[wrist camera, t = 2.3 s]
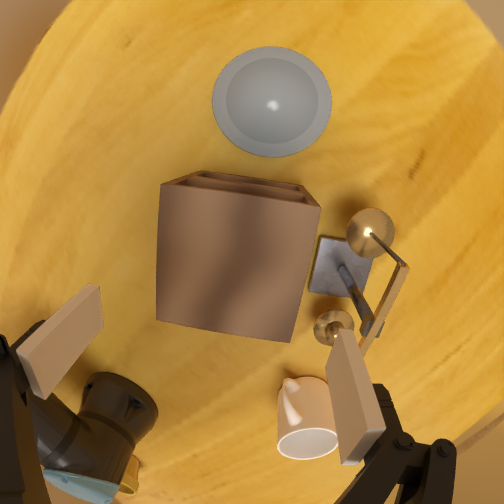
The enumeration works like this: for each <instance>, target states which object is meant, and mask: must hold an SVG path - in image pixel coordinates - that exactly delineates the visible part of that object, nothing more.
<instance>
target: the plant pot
mask: <svg viewBox="0 0 504 504" xmlns="http://www.w3.org/2000/svg"><path fill="white" fill-rule="evenodd" d="M139 464H140V462H139V460H138V459H137V458H136V457H134V456H133V455H132V456H131V458H130V461H129V464H128V466H127V469H126V471H125V474H124V476H123V479H122V482H121V484H120V486H121V487H120V489H119V490H118V492H120V493H123V494H126V495H135V494H136V492H137V490H138V487H139V482H138V472H139Z"/></svg>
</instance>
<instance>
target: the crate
mask: <svg viewBox="0 0 504 504" xmlns="http://www.w3.org/2000/svg"><path fill="white" fill-rule="evenodd" d="M193 186H194V187H193ZM208 188H210V189H208ZM216 189H217V190H216ZM223 190H225V191H223ZM230 191H232V192H230ZM237 192H239V193H237ZM244 193H246V194H244ZM251 194H252V195H251ZM257 195H259V196H257ZM264 196H265V197H264ZM270 197H271V198H270ZM276 198H278V199H276ZM282 199H284V200H282ZM288 200H289V201H288ZM294 201H295V202H294ZM320 212H321V207H320V205H319V204H318V203H317V202H316V201H315V199H314V198H313V197H312V196H311V195H310V193H309V192H308V191H307V190H306V189H305V188H304V186H301V185H296V184H290V183H284V182H278V181H272V180H266V179H259V178H253V177H246V176H239V175H231V174H224V173H216V172H208V171H198V172H195V173H192V174H189V175H186V176H183V177H180V178H177V179H174V180H171V181H168V182H165V183H163V184H161V188H160V201H159V216H158V235H157V264H156V320H159V321H163V322H168V323H173V324H178V325H183V326H188V327H193V328H198V329H203V330H208V331H214V332H220V333H225V334H231V335H237V336H244V337H250V338H257V339H264V340H271V341H278V342H286V343H290V341H291V337H292V333H293V329H294V325H295V322H296V318H297V314H298V310H299V306H300V302H301V298H302V294H303V289H304V285H305V281H306V277H307V273H308V268H309V264H310V259H311V255H312V250H313V246H314V241H315V237H316V232H317V227H318V222H319V217H320Z"/></svg>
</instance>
